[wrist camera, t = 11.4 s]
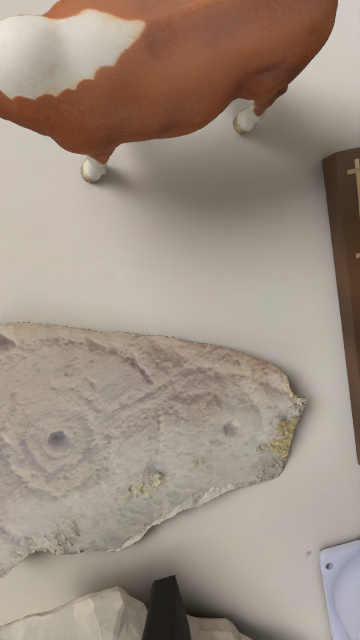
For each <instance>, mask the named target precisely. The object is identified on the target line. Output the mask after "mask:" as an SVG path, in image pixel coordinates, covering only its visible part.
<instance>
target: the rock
mask: <svg viewBox="0 0 360 640" xmlns="http://www.w3.org/2000/svg"><path fill="white" fill-rule="evenodd" d="M147 612H148V610H147V608H146V606H145V604H144V603H142V602H141V601H139V600H137V599H135V598H132V597H130V596H129V595H128V594H127V593H126V591H125V590H124V589H123V588H122V587H117V586H114V587H111V588H108V589H105V590H102V591H99V592H95V593H91V594H88V595H85V596H82V597H79V598H77V599H74V600H72V601H70V602H68V603H66V604H64V605H61V606H59V607H57V608H55V609H53V610H51V611H48V612H43V613H38V614H33V615H28V616H25V617H23V618H21V619H19V620H16V621H13V622H11V623H8V624H5V625H3V626H0V640H142V636H143V631H144V627H145V622H146V617H147ZM186 616H187V619H188V623H189V626H190V632H191V640H253V639H251V638H249V637H247V636H245V635H243V634H242V633H240V632H239V631H238V630H237V628H236V627H235V626H234V624H233V623H232V622H231V621H229V620H227V619H226V618H197V617H193V616H190V615H187V614H186Z"/></svg>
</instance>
